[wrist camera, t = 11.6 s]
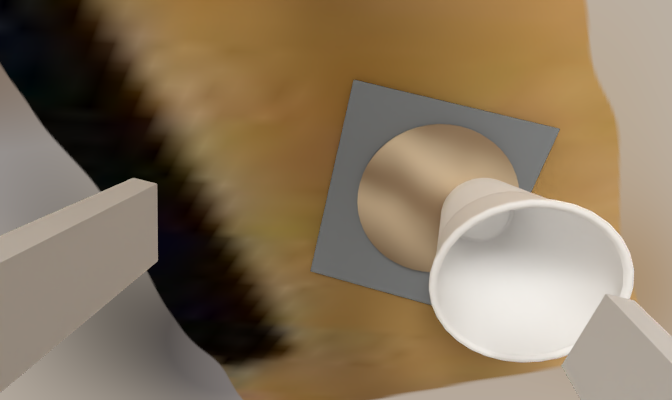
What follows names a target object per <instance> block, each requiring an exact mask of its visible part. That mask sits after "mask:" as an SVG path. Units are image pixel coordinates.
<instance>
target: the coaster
mask: <svg viewBox="0 0 672 400" xmlns="http://www.w3.org/2000/svg"><path fill="white" fill-rule="evenodd" d="M476 178H492V179H497V180H500V181H502V182H505V183H507V184H510V185H512V186H515V187H518V188H519V184H518V180H517V176H516V173H515V171H514V168H513V166H512V164H511V163H510V161H509V159H508V158H507V156H506V155H505V154H504V153H503V151H502V150H501V149H500V148H499V147H498V146H497V145H496V144H494V143H493V142H492V141H491V140H489V139H488V138H486V137H485V136H483V135H482V134H480V133H477V132H475V131H473V130H471V129H468V128H465V127H462V126H456V125H451V124H432V125H425V126H420V127H416V128H413V129H410V130H407V131H405V132H403V133H401V134H399V135H397V136H395V137H394V138H393V139H391V140H390V141H388V142H387V143H386V144H385V145H383V146H382V147H381V148H380V149H379V150H378V151H377V152H376V154H375V155H374V156H373V157H372V159H371V160H370V162H369V163H368V165H367V167H366V169H365V171H364V173H363V175H362V178H361V181H360V185H359V190H358V199H357V205H358V214H359V218H360V222H361V224H362V227H363V230H364V231H365V233H366V235H367V237H368V238H369V240H370V241H371V242H372V244H373V245H374V246H375V247H376V248H377V249H378V250H379V251H380V252H381V253H382V254H383V255H385V256H386V257H387V258H389V259H390V260H392V261H394V262H395V263H397V264H399V265H402V266H404V267H407V268H410V269H413V270H418V271H424V272H430V271H431V267H432V264H433V261H434V258H435V256H436V251H437V244H438V236H439V227H440V218H441V210H442V206H443V203H444V201H445V199H446V197H447V196H448V195H449V194H450V192H451V191H452V190H453V189H455V188H456V187H457V186H458V185H460V184H462V183H464V182H466V181H469V180H472V179H476Z"/></svg>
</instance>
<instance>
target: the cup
mask: <svg viewBox="0 0 672 400" xmlns="http://www.w3.org/2000/svg"><path fill="white" fill-rule="evenodd" d="M633 282H634V268H633V263H632V260H631V255H630V252H629V250H628V248H627V246H626V244H625V242H624V240H623V239H622V237H621V236H620V235H619V234H618V232H617V231H616V230H615V229H614V228H613V227H612V226H611V225H610V224H609V223H608V222H607V221H605V220H604V219H602V218H601V217H599V216H598V215H597V214H595V213H594V212H592V211H590V210H587V209H585V208H582V207H580V206H578V205H575V204H572V203H567V202H562V201H558V200H553V199H547V198H544V197H542V196H539V195H536V194H533V193H531V192H528V191H525V190H523V189H520V188H518V187H515V186H512V185H510V184H507V183H505V182H502V181H500V180H497V179H492V178H476V179H472V180H469V181H466V182H464V183H462V184H460V185H458V186H457V187H456V188H455V189H453V190H452V191H451V192H450V194H449V195H448V196H447V197H446V199H445V201H444V203H443V206H442V210H441V218H440V227H439V236H438V244H437V251H436V256H435V258H434V261H433V264H432V267H431V271H430V277H429V293H430V300H431V304H432V307H433V309H434V311H435V314H436V316H437V318H438V320H439V321H440V322H441V324H442V325H443V327H444V328H445V330H446V331H447V332H449V333H450V334H451V335H452V336H453V337H454V338H455V339H456V340H457V341H458V342H460V343H461V344H463V345H464V346H466V347H468V348H469V349H471V350H473V351H475V352H477V353H480V354H482V355H484V356H487V357H491V358H495V359H499V360H503V361H512V362H541V361H546V360H551V359H557V358H560V357H563V356H566V355H568V354H569V352H570V351H571V349H572V348H573V346H574V344H575V343H576V341H577V339H578V338H579V336H580V335H581V333H582V331H583V330H584V328H585V326H586V325H587V323H588V322H589V320H590V318H591V317H592V315H593V313H594V312H595V310H596V309H597V307H598V305H599V304H600V302H601V300H602V299H603V297H604V296H605V294H610V295H614V296H618V297H622V298H626V299H630V296H631V293H632V290H633Z"/></svg>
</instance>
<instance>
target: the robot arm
mask: <svg viewBox="0 0 672 400" xmlns="http://www.w3.org/2000/svg"><path fill="white" fill-rule="evenodd" d="M157 261H158V224H157V184H156V183H152V182H148V181H144V180H140V179H136V178H132V179H130V180H127V181H125V182H123V183H120V184H118V185H116V186H113V187H111V188H109V189H106V190H104V191H102V192H100V193H97V194H95V195H93V196H90V197H88V198H86V199H84V200H81V201H79V202H77V203H74V204H72V205H70V206H67V207H65V208H63V209H60V210H58V211H56V212H54V213H51V214H49V215H47V216H45V217H42V218H40V219H38V220H35V221H33V222H31V223H29V224H26V225H24V226H21V227H19V228H17V229H15V230H12V231H10V232H8V233H5V234H3V235H1V236H0V392H2V391H3V390H4V389H5V388H6V387H8V386H9V385H10V384H11V383H12V382H14V381H15V380H16V379H17V378H18V377H20V376H21V375H22V374H23V373H24V372H25V371H27V370H28V369H29V368H30V367H31V366H33V365H34V364H35V363H36V362H37V361H39V360H40V359H41V358H42V357H44V356H45V355H46V354H47V353H48V352H49V351H51V350H52V349H53V348H54V347H55V346H57V345H58V344H59V343H60V342H61V341H63V340H64V339H65V338H66V337H67V336H69V335H70V334H71V333H72V332H73V331H75V329H77V328H78V327H79V326H81V325H82V324H83V323H84V322H85V321H86V320H88V319H89V318H90V317H91V316H92V315H94V314H95V313H96V312H97V311H98V310H100V309H101V308H102V307H103V306H104V305H106V303H108V302H109V301H110V300H112V299H113V298H114V297H115V296H116V295H118V294H119V293H120V292H121V291H122V290H124V289H125V288H126V287H127V286H128V285H130V284H131V283H132V282H133V281H134V280H135V279H137V278H138V277H139V276H140V275H141V274H143V273H144V272H145V271H146V270H148V269H149V268H150V267H151V266H152V265H154V264H155V263H156V262H157ZM561 366H562V368H563V370H564V371H565V373H566V375H567V377H568V379H569V380H570V382H571V384H572V386H573V387H574V389H575V391H576V393H577V394H578V396H579V398H580V400H672V336H671V335H670V334H669V333H668V332H666V331H665V330H664V329H663V328H662V327H661V326H660V325H659V324H658V323H657V322H656V321H655V320H654V319H653V318H652V317H651V316H650V315H649V314H648V313H647V312H646V311H645V310H644V309H643V308H642V307H641V306H640V305H639V304H637V303H636V302H635V301H634V300H630V299H626V298H622V297H618V296H614V295H610V294H605V296H604V297H603V299H602V300H601V302H600V304H599V305H598V307H597V309H596V310H595V312H594V313H593V315H592V317H591V318H590V320H589V322H588V323H587V325H586V326H585V328H584V330H583V331H582V333H581V335H580V336H579V338H578V339H577V341H576V343H575V344H574V346H573V348H572V349H571V351H570V352H569V354H568V356H567V357H566V359H565V361H564V362H563V364H562V365H561Z"/></svg>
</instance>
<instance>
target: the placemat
mask: <svg viewBox="0 0 672 400" xmlns="http://www.w3.org/2000/svg"><path fill="white" fill-rule="evenodd" d="M432 124H451V125H456V126H462V127H465V128H468V129H471V130H473V131H475V132H477V133H480V134H482V135H483V136H485V137H486V138H488V139H489V140H491V141H492V142H493V143H494V144H496V145H497V146H498V147H499V148H500V149H501V150H502V151H503V153H504V154H505V155H506V156H507V158H508V159H509V161H510V163H511V164H512V166H513V168H514V171H515V173H516V176H517V180H518V184H519V188H520V189H523V190H525V191H528V192H531V191H532V189H533V187H534V184H535V182H536V180H537V178H538V176H539V174H540V171H541V169H542V167H543V165H544V163H545V161H546V158H547V156H548V154H549V152H550V150H551V147H552V145H553V143H554V141H555V139H556V137H557V134H558V132H559V130H560V129H558V128H554V127H550V126H546V125H542V124H537V123H533V122H529V121H525V120H521V119H517V118H512V117H508V116H504V115H500V114H496V113H491V112H487V111H483V110H479V109H475V108H471V107H466V106H462V105H458V104H454V103H450V102H445V101H441V100H437V99H433V98H429V97H425V96H420V95H416V94H412V93H408V92H404V91H399V90H395V89H391V88H387V87H383V86H379V85H374V84H370V83H366V82H362V81H358V80H354V81H353V85H352V90H351V94H350V98H349V103H348V107H347V112H346V116H345V121H344V125H343V129H342V134H341V138H340V143H339V147H338V152H337V156H336V160H335V165H334V169H333V174H332V178H331V183H330V187H329V191H328V196H327V200H326V205H325V209H324V214H323V218H322V222H321V227H320V231H319V236H318V240H317V245H316V249H315V253H314V258H313V262H312V267H311V271H312V272H315V273H319V274H322V275H326V276H329V277H333V278H337V279H340V280H344V281H347V282H351V283H354V284H358V285H362V286H365V287H369V288H372V289H376V290H379V291H383V292H386V293H390V294H394V295H397V296H401V297H404V298H408V299H411V300H415V301H419V302H422V303H426V304H429V305H432V304H431V300H430V293H429V277H430V272H424V271H418V270H413V269H410V268H407V267H404V266H402V265H399V264H397V263H395V262H394V261H392V260H390V259H389V258H387V257H386V256H385V255H383V254H382V253H381V252H380V251H379V250H378V249H377V248H376V247H375V246H374V245H373V244H372V242H371V241H370V240H369V238H368V237H367V235H366V233H365V231H364V230H363V227H362V224H361V222H360V218H359V214H358V205H357V199H358V190H359V185H360V181H361V178H362V175H363V173H364V171H365V169H366V167H367V165H368V163H369V162H370V160H371V159H372V157H373V156H374V155H375V154H376V152H377V151H378V150H379V149H380V148H381V147H382V146H383V145H385V144H386V143H387V142H388V141H390V140H391V139H393V138H394V137H395V136H397V135H399V134H401V133H403V132H405V131H407V130H410V129H413V128H416V127H420V126H425V125H432Z"/></svg>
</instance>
